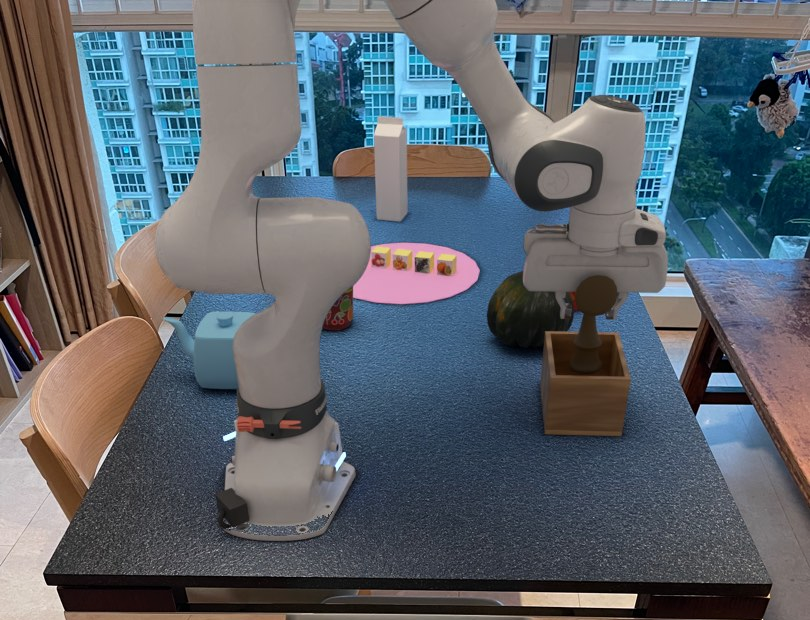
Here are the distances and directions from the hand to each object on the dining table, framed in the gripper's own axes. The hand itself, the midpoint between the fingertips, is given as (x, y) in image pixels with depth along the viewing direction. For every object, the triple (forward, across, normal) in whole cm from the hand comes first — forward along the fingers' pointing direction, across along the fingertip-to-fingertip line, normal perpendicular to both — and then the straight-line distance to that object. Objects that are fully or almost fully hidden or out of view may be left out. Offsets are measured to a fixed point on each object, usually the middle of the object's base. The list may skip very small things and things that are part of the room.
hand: (588, 317), depth 131 cm
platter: (+16, -31, +54) cm, 64 cm away
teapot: (+16, -58, +8) cm, 61 cm away
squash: (+16, -6, +23) cm, 29 cm away
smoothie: (+16, -42, +29) cm, 54 cm away
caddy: (+15, 0, -1) cm, 16 cm away
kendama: (+9, +1, 0) cm, 9 cm away
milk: (+17, -36, +87) cm, 95 cm away
